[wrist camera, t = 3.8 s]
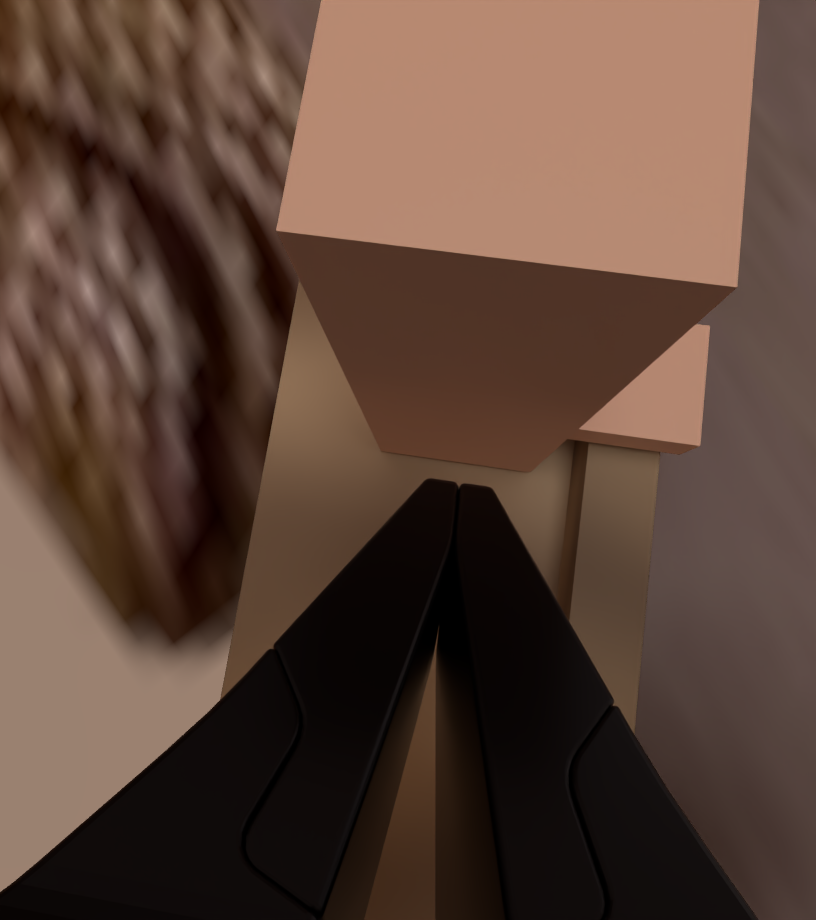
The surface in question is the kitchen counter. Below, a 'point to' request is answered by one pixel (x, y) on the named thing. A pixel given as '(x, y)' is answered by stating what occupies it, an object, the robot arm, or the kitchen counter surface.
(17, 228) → the kitchen counter surface
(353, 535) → the trammel board
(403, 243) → the block
